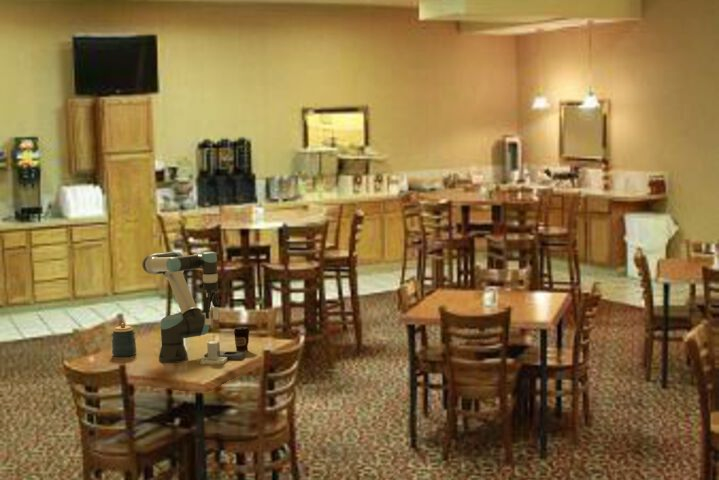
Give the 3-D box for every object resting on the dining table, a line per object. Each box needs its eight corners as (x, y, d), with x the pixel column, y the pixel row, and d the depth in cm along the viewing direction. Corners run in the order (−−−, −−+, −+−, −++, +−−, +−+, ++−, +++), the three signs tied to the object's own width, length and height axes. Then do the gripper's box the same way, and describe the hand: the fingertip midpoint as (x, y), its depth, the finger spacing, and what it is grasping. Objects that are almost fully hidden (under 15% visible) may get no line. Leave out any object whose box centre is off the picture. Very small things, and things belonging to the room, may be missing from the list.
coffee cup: (247, 353, 547) (246, 329, 546) (232, 352, 549) (231, 329, 547) (251, 349, 556) (251, 326, 554) (237, 349, 557) (236, 326, 556)
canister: (107, 355, 550) (105, 323, 548) (127, 350, 560) (125, 319, 558) (121, 358, 542) (119, 326, 540) (141, 354, 551) (139, 322, 549)
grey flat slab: (204, 359, 534) (204, 354, 534) (209, 355, 543) (209, 351, 543) (240, 360, 531) (240, 355, 531) (245, 356, 540) (245, 351, 540)
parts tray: (200, 364, 524) (200, 360, 524) (205, 360, 533) (205, 356, 533) (222, 364, 523) (222, 361, 522) (227, 360, 531) (227, 356, 531)
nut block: (208, 362, 526) (207, 343, 525) (211, 359, 531) (210, 341, 530) (217, 362, 525) (216, 343, 524) (220, 360, 530) (219, 341, 529)
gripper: (210, 285, 510) (211, 326, 513) (224, 277, 535) (226, 317, 537) (195, 285, 511) (197, 326, 514) (210, 277, 536) (212, 317, 538)
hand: (212, 322), depth 525 cm, fingers open, 13 cm apart
